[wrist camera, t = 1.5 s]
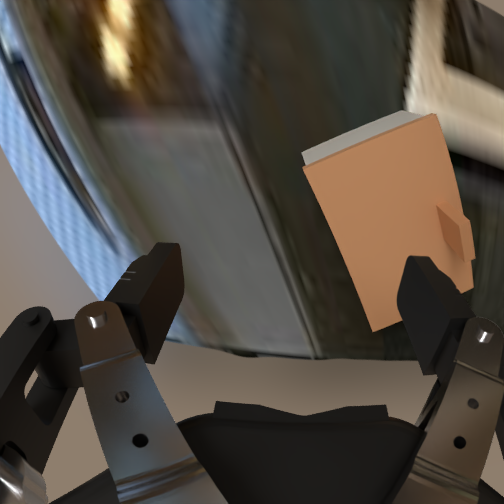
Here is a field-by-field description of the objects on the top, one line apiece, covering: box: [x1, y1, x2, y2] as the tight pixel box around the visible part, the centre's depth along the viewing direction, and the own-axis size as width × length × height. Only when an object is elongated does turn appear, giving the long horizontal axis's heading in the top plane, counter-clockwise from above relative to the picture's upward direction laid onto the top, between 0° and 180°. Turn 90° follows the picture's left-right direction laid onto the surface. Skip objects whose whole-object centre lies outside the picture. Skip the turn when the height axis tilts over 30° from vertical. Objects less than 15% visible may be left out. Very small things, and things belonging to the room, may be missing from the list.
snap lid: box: [303, 113, 475, 332], centre depth 28 cm, size 14×21×7 cm, turn 28°
